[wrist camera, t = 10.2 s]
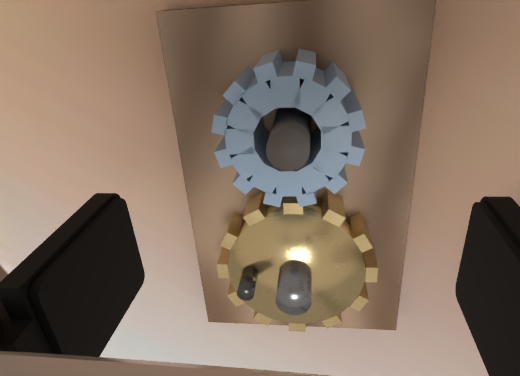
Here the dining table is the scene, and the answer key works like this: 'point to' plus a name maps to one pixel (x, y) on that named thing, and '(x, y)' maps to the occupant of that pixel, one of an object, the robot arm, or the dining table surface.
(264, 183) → the blue gear
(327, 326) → the brass drive gear
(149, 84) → the dining table surface
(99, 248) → the robot arm
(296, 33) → the gear board
